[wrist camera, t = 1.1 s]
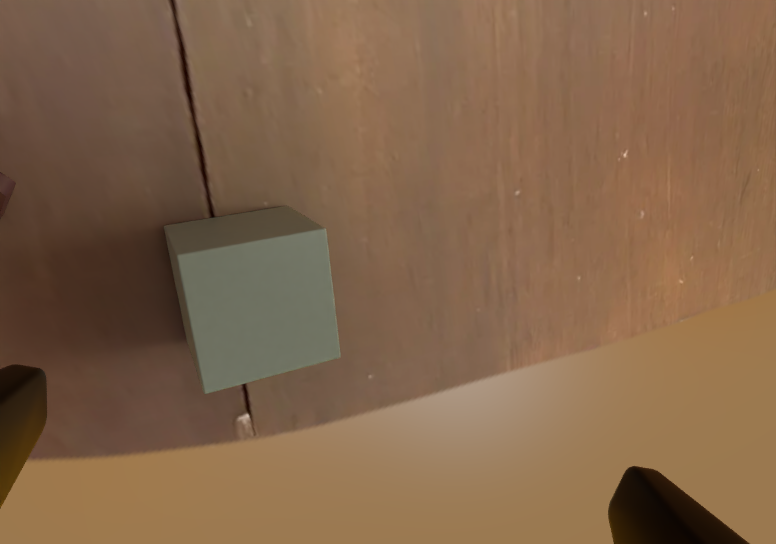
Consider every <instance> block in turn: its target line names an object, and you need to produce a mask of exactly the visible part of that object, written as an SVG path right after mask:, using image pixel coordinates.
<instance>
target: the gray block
mask: <svg viewBox="0 0 776 544" xmlns="http://www.w3.org/2000/svg"><path fill="white" fill-rule="evenodd" d="M164 231H165V236H166V241H167V246H168V251H169V256H170V261H171V265H172V270H173V275H174V280H175V285H176V290H177V295H178V300H179V305H180V310H181V314H182V319H183V324H184V329H185V334H186V339H187V343H188V346H189V349H190V352H191V355H192V358H193V361H194V365H195V368H196V371H197V374H198V377H199V380H200V383H201V386H202V389H203V392H204V394H208V393H211V392H215V391H219V390H222V389H226V388H230V387H234V386H237V385H241V384H245V383H248V382H252V381H256V380H259V379H263V378H267V377H271V376H274V375H278V374H282V373H285V372H289V371H293V370H296V369H300V368H304V367H308V366H311V365H315V364H319V363H322V362H326V361H330V360H333V359H337V358H340V356H341V354H340V345H339V337H338V328H337V319H336V310H335V302H334V293H333V284H332V275H331V267H330V258H329V249H328V240H327V232H326V228H324V227H322V226H321V225H319V224H317V223H316V222H314V221H312V220H311V219H309V218H307V217H306V216H304V215H302V214H301V213H299V212H297V211H296V210H294V209H292V208H291V207H289V206H282V207H276V208H270V209H264V210H258V211H251V212H245V213H239V214H233V215H227V216H220V217H214V218H208V219H202V220H196V221H189V222H183V223H177V224H171V225H165V226H164Z"/></svg>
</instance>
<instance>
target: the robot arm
mask: <svg viewBox="0 0 776 544" xmlns="http://www.w3.org/2000/svg"><path fill="white" fill-rule="evenodd" d="M46 418H47V385H46V375H45V372H44V371H43V370H42V369H40V368H36V367H30V366H24V365H10V366H7V367H4V368H2V369H0V508H1V506H2V504H3V503H4V500H5V499H6V497H7V495H8V493H9V492H10V490H11V488H12V486H13V484H14V482H15V481H16V479H17V477H18V475H19V473H20V471H21V470H22V468H23V466H24V464H25V462H26V460H27V459H28V457H29V455H30V453H31V451H32V449H33V448H34V446H35V444H36V442H37V440H38V438H39V437H40V435H41V433H42V431H43V429H44V426H45V423H46ZM608 517H609V523H610V528H611V532H612V537H613V542H614V544H749V543H748V542H747V541H746V540H744V539H743V538H742V537H740V536H739V535H738V534H737V533H735V532H734V531H733V530H732V529H730V528H729V527H728V526H727V525H725V524H724V523H723V522H722V521H720V520H719V519H718V518H716V517H715V516H714V515H713V514H711V513H710V512H709V511H707V510H706V509H705V508H704V507H703V506H701V505H700V504H699V503H698V502H696V501H695V500H694V499H692V498H691V497H690V496H689V495H687V494H686V493H685V492H684V491H682V490H681V489H680V488H678V487H677V486H676V485H675V484H674V483H672V482H671V481H669V480H668V479H667V478H666V477H664V476H663V475H662V474H661V473H659V472H658V471H656V470H654V469H649V468H643V467H637V466H632V467H629V468H628V469H627V470H626V471H625V473H624V475H623V477H622V479H621V481H620V483H619V485H618V487H617V489H616V491H615V493H614V495H613V497H612V499H611V501H610V504H609V510H608Z"/></svg>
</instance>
